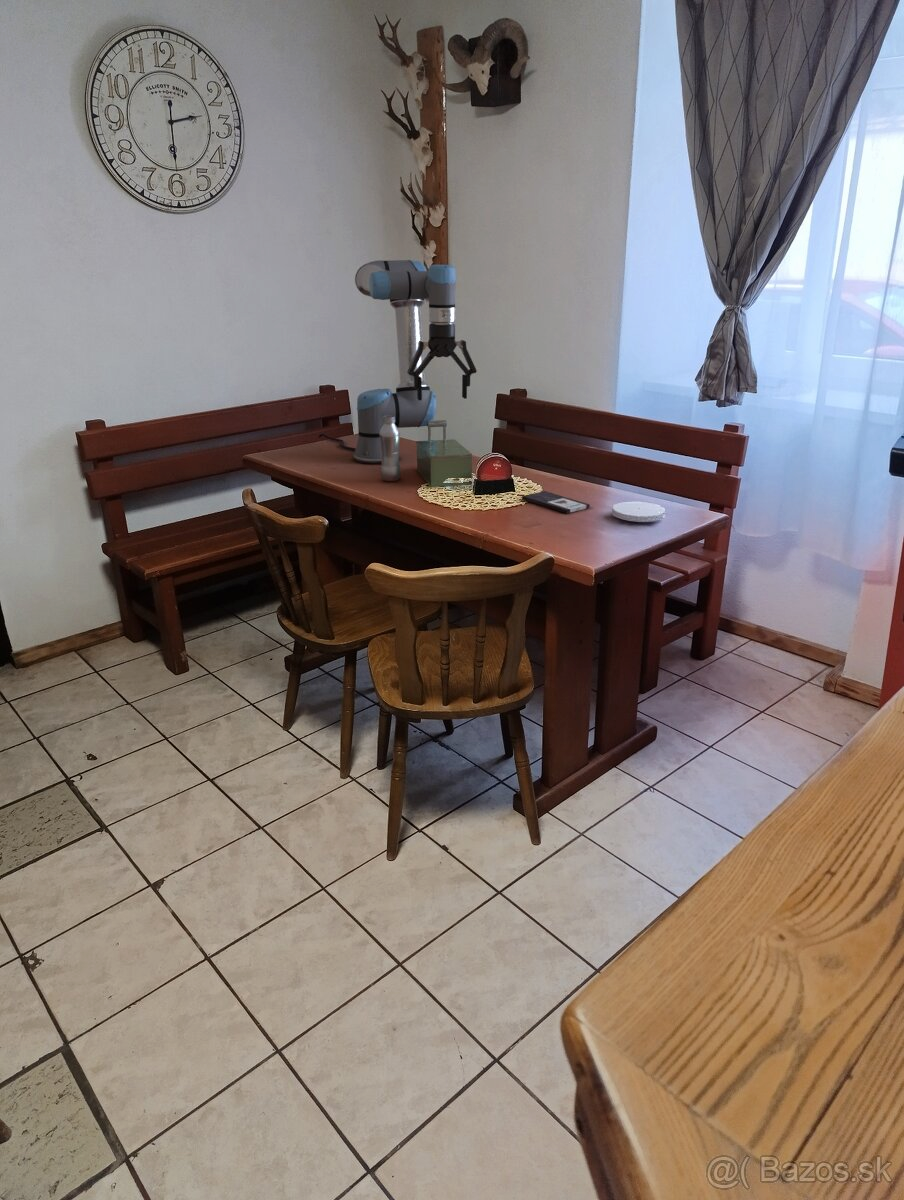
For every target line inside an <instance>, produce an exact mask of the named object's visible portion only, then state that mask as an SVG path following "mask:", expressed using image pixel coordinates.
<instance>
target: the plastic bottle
mask: <svg viewBox="0 0 904 1200" xmlns="http://www.w3.org/2000/svg"><path fill="white" fill-rule="evenodd" d="M383 423H384V425H383V427H382V428H381V430H380V433H379V436H380V442H381V450H382V464H380V473H379V474H380V477H381V479H382V481H386V482H394V481H398V480H400V479H401V476H402V469H401V465H400V457H399V456H400V454H399V453H400V451H399V450H400V439H401V432H400V430H399V429H400V428H397V427H396V425H395V416H392V415H387V416H383Z"/></svg>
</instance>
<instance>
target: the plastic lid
mask: <svg viewBox="0 0 904 1200" xmlns="http://www.w3.org/2000/svg"><path fill="white" fill-rule="evenodd" d="M666 512H667V510H666V508H665V507H663V506H662V505H659V504H657V503H652V502H646V501H622V502H618V503H615V504H613V505H612V508H611V514H612V515H613V517H615V518H617V519H621V520H624V521H629V522H635V523H651V522H658V521H661V520H663V519H665V517H666Z"/></svg>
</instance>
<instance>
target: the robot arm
mask: <svg viewBox="0 0 904 1200" xmlns="http://www.w3.org/2000/svg"><path fill="white" fill-rule="evenodd" d="M456 282H457V277H456V267H455V266H454V265H453V264H430V265H429V267H428V270H427V268H426V266H425V264H424V263H423V262H421V261H420V260H412V259H402V260H401V259H398V260H397V259H395V260H394V259H393V260H373V261H369V262H366V263H365V264H363V265H361V266H360V267H359V268H358V269H357V271H356V273H355V276H354V284H355V286H356V288H357V290H358V291H359V292H360V293H361V294H362V295H364V296H367V297H370V298H372V299H373V300H380V301H386V300H389V305H390V306H391V307H392V308H393V309H394V314H395V328H396V342H397V343H396V345H397V359H398V374H399V383H398V384H397V386H396V387H395V392H392V390H391V389H390V388H375V389H370V390H366V391H363V392H361V393H360V394H359V395H358V396H357V398H356V399H357V400H356V401H357V402H356V411H357V429H358V430H357V431H358V437H357V438H358V439H357V442H356V445H355V447H352V446H351V447H350V446H346V445H344V444H345V441H344V440H343V439H340V438H336V437H332V436H328V435H327V434H325V433H320V434H319V435H318V438H322V437H324V438H326V439H327V440H330V441H336V442H340V448H343V449H345V450H350V451H354V454H353V458H354V461H355V462H357V463H360V464H368V465H369V464H370V465H381V464H382V450H381V442H380V436H379V433H380V430H381V428H382V427H383V425H384V423H383V416H387V415H392V416H395V425H396V427H397V428H398V429H402V428H403V429H405V428H421V427H428V426H427V421H435V420H434V419H435V415H436V410H437V398H436V392H434V391H432V390H431V386H430V385H429V384H428V382H426V376H425V369H426V367H427V366H428V365H429V364H430V362H431V361H432V360H433V359H434V358H435V357H436V358H449V357H451V358H452V360H453V361H454V362H455V363H456V364H457V365H458V367H459V368H460V369H461V371H462V372H463V373H464V374H462V375H461V397H462V399H468V397H467V396H468V387H471V376H472V375H473V374H476V373H477V368H476V366H475V364H474V361H473V359H472V357H471V354H470V353H469V350H468V348H467V341H466V340H464V339H460V340H457V341H456V325H455V322H456ZM425 300H428V322H429V324H428V341H423V328H422V311H421V308H422V306H423V305H424V304H425ZM456 347H458V348H459V349H460V350H461V352H462V355H463V357H464V359H465V361H466V363H467V366H468V367H467V366H466V365H465V364H464V362H463V361H462V360H461V358H460V357H459V356H458V354H456V352H455V351H454V350H455V349H456ZM427 348H428V350H429V351H428V353H427V355H426V356H425V357H424V350H426V349H427ZM468 368H469V369H468Z"/></svg>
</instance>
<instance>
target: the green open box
mask: <svg viewBox="0 0 904 1200" xmlns="http://www.w3.org/2000/svg"><path fill="white" fill-rule="evenodd" d="M416 471H417V473H419V474H420V476H421V477H422V478H423V479H424V481H425V482H426V484H427V485H429V486H430V487H431V488H437V487H438V488H439V487H440V488H441V487H454V486H471V485H473V455H472V456H471V457H454V458H436V459H430V457H429V456H428V455H427V454H426V453H425V452H424V451H423V450H422V449H421V448H420V447H419V446H418V445H417V444H416ZM448 478H471V479H472V481H469V482H463V483H443V482H444V481H445V480H446V479H448Z"/></svg>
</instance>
